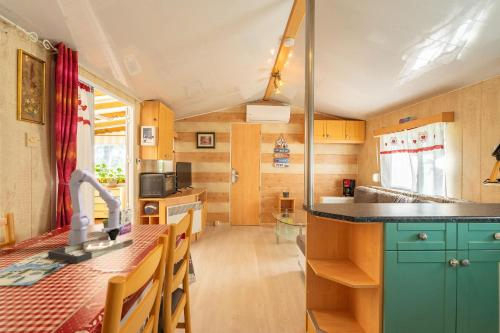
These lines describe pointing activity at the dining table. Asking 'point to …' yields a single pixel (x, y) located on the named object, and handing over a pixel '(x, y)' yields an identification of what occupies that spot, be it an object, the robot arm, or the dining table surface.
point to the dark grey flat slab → (68, 256)
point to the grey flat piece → (100, 251)
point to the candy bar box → (125, 221)
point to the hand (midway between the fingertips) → (112, 242)
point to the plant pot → (105, 223)
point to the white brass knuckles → (98, 245)
